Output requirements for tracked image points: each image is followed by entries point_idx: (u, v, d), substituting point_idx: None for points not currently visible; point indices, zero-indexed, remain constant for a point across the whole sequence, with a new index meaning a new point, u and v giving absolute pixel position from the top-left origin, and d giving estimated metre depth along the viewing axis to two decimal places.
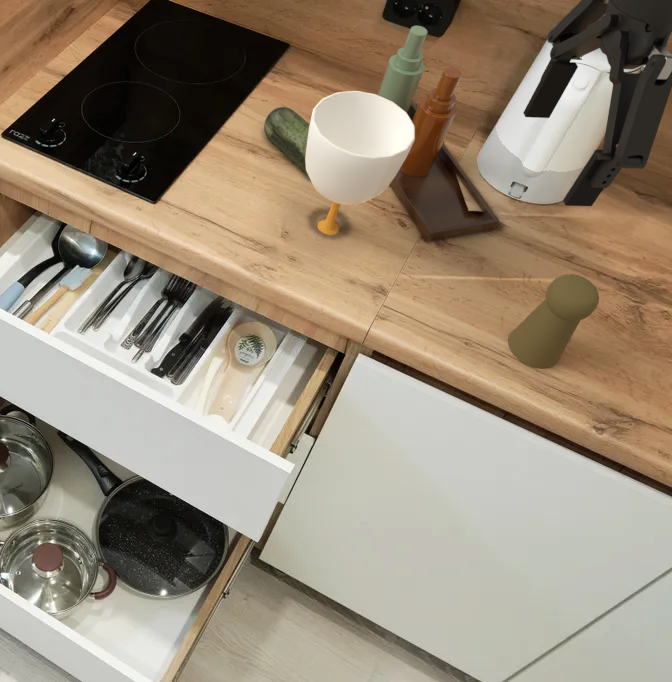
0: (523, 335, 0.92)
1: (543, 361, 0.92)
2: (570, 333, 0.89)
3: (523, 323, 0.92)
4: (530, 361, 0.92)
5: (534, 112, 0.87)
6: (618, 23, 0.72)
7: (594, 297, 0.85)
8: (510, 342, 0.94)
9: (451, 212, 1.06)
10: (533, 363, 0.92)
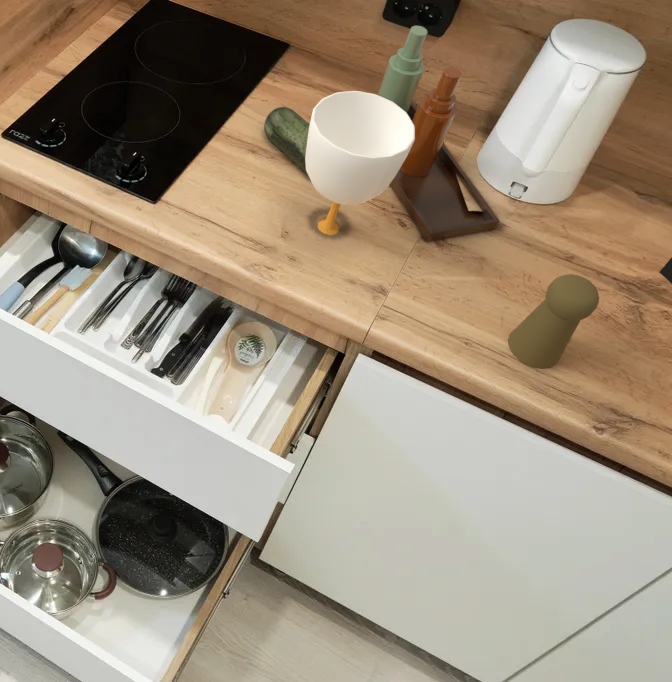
0: (523, 335, 0.92)
1: (543, 361, 0.92)
2: (570, 333, 0.89)
3: (523, 323, 0.92)
4: (530, 361, 0.92)
5: None
6: None
7: (594, 297, 0.85)
8: (510, 342, 0.94)
9: (451, 212, 1.06)
10: (533, 363, 0.92)
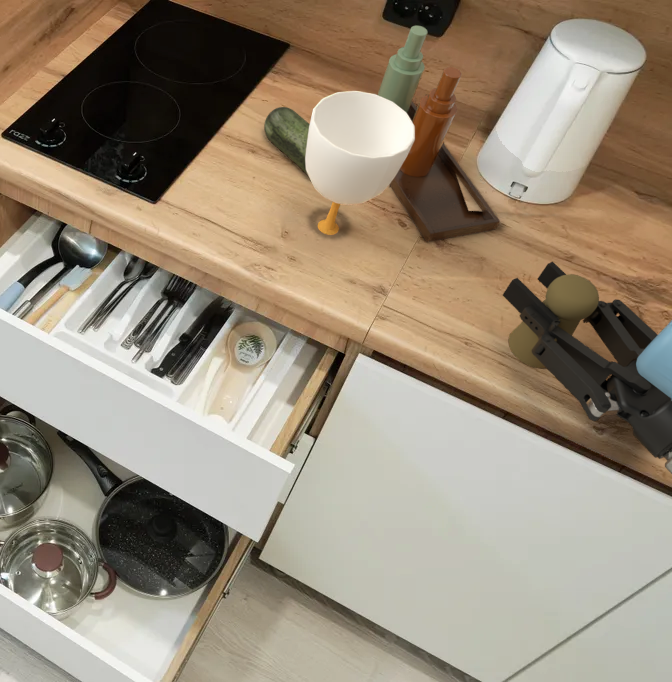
0: (523, 335, 0.92)
1: None
2: (570, 333, 0.89)
3: (523, 323, 0.92)
4: (530, 361, 0.92)
5: None
6: None
7: (594, 297, 0.85)
8: (510, 342, 0.94)
9: (451, 212, 1.06)
10: (533, 363, 0.92)
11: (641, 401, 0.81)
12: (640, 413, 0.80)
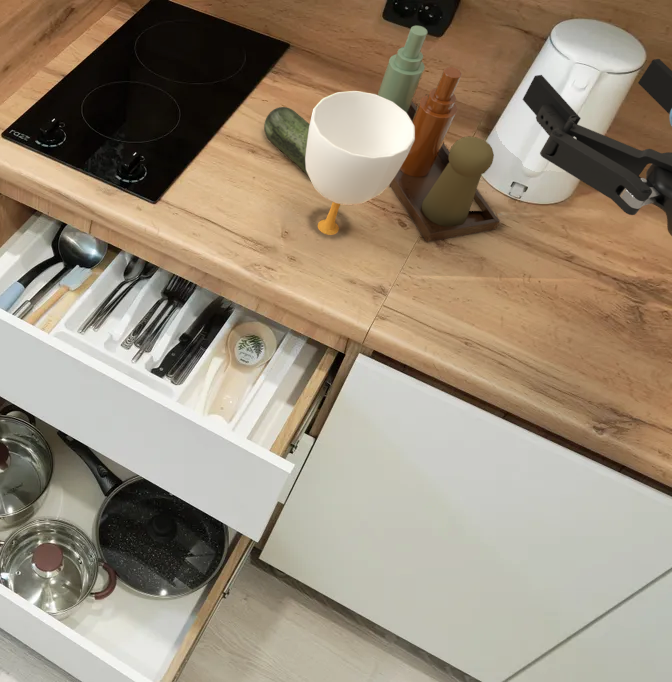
0: (431, 194, 1.04)
1: (445, 218, 1.03)
2: (468, 191, 1.00)
3: (434, 184, 1.04)
4: (434, 218, 1.04)
5: None
6: None
7: (486, 155, 0.97)
8: (423, 202, 1.06)
9: None
10: (437, 220, 1.04)
11: None
12: None
